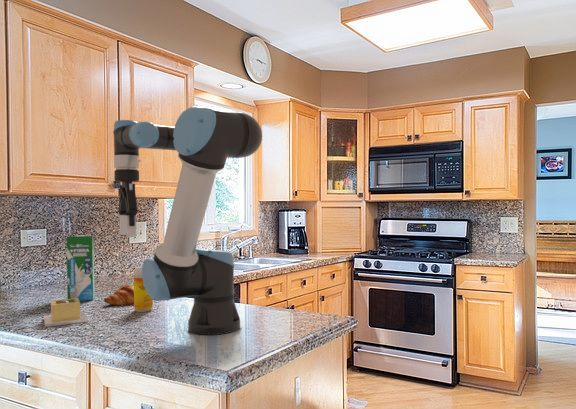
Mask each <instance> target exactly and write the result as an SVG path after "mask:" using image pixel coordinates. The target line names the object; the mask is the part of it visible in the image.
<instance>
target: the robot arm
mask: <svg viewBox="0 0 576 409" xmlns="http://www.w3.org/2000/svg"><path fill="white" fill-rule="evenodd" d="M112 132H113V151H114V152H113V153H114V154H113V167H114V169H115V170H114V171H113V172H114V174H113V175H114V176H113V177H114V182H117V183H121V184H120V185H119V197H118V210H117V212H118V214H119V235H120V236H122V235H123V236H125V235H126V238H133V237H134V238H135V237H137V214H138V204H137V195H136V184H135V183H138V182H140V171H139V170H138V169H139V167H140V163H141V162H142V161H141V159H140V152H139V151H140V149H148V150H166V151H176V152H177V153H178V154H177V156H178V159H179V160H180V162H181V163H182V165H181V169H180V173H179V176H178V181H177V184H176V185H177V186H176V189H175V192H174V193H175V194H174V197H173V202H172V205H171V210H170V214H169V216H168V217H169V218H168V223H167V226H166V229H165V235H164V237H163V243H161V244H159V245H158V246H157V247H156V248H155V251H154V255H153V257H148V258H146V259H145V260H144V261H143V263H142V265H141V266H142V279H143V283H144V287H145V289H146V292H147V294H148V295H149V296H150V298H152V301H156V302H161V301H166V302H168V301H170V300H175V299H181V298H188V297H193V305H192V308H191V311H190V315H189V318H188V322H187V328H188V331H189V332H190V333H193V334H195V335H196V334H197V335H209V336H210V335H212V336H213V335H224V334H228V333H232V332H235V331H238V330H239V329H240V328H241V318H240V316H239V312H238V309H237V306H236V303H235V280H234V279H235V278H234V277H235V276H234V275H235V274H234V271H235V270H234V268H235V264H234V256H233V253H232V252H230V251H227V250H218V249H217V250H216V249H206V248H197V245H198V240H199V236H200V234H201V229H202V226H203V223H204V220H205V215H206V212H207V209H208V208H207V207H208V205H209V200H210V197H211V194H212V190H213V187H214V182H215V179H216V175H217V173H218V172H220V171H222V170H224V168H225V165H226V162H227V158H228V159H229V158H231V159H233V158H234V159H242V158H246V157H250V156H252V155H253V154H254V153H256V152H257V151H258V149H259V148H260V146H261V144H262V140H263V131H262V128H261V125H260V124H259V122H258V121H257V120H256V119H255V118H254V117H253V116H252V115H249V114H248V113H245V112H241V111H234V110H233V111H232V110H226V109H220V108H214V107H209V106H190V107H188V108H186V109H185V110H183V112H181V113H180V115H179V116H178V117H177V120H176V122H175V124H174V126H170V125H160V124H159V125H158V124H154V123H152V122H150V121H139V122H138V121H135V120H130V119H118V120H116V121H114V124H113V131H112Z"/></svg>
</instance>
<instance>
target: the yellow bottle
mask: <svg viewBox="0 0 576 409" xmlns="http://www.w3.org/2000/svg"><path fill="white" fill-rule="evenodd" d="M133 286H134V304H133V305H134V307H133V308H134V310H135V312H137V313H138V312H139V313H145V312H146V313H147V312H150V311H151V310H152V309H153V308H154V307H153V299H152V298H150V296H149V295H148V294H147V292H146V289H145V287H144V283H143V279H142V265H141V266H135V267H134V269H133Z"/></svg>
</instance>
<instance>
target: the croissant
mask: <svg viewBox="0 0 576 409" xmlns="http://www.w3.org/2000/svg"><path fill="white" fill-rule="evenodd" d="M103 301H104V303H105V304H108V305H115V306H123V305H126V306H127V305H128V306H129V305H134V285H131V284H129V285H128V284H126V285H123V286H121V287H120V288H119V289H118V290H116V291H114V293H113V294H110V295H108V296H107V297H105V298H103Z"/></svg>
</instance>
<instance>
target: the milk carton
mask: <svg viewBox="0 0 576 409" xmlns="http://www.w3.org/2000/svg"><path fill="white" fill-rule="evenodd" d="M93 237H94V236H92V235H87V236H86V235H82V234H81V235H80V234H79V235H75V236H66V277H67V278H66V282H67V284H66V287H67V289H66V291H67V294H66V295H67V299H73V298H78V299H79V301H80V302H85V301H87V300H89V301H94V299H95V293H96V292H95V288H96V287H95V241H94V240H95V239H94V238H93ZM87 302H88V301H87Z"/></svg>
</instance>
